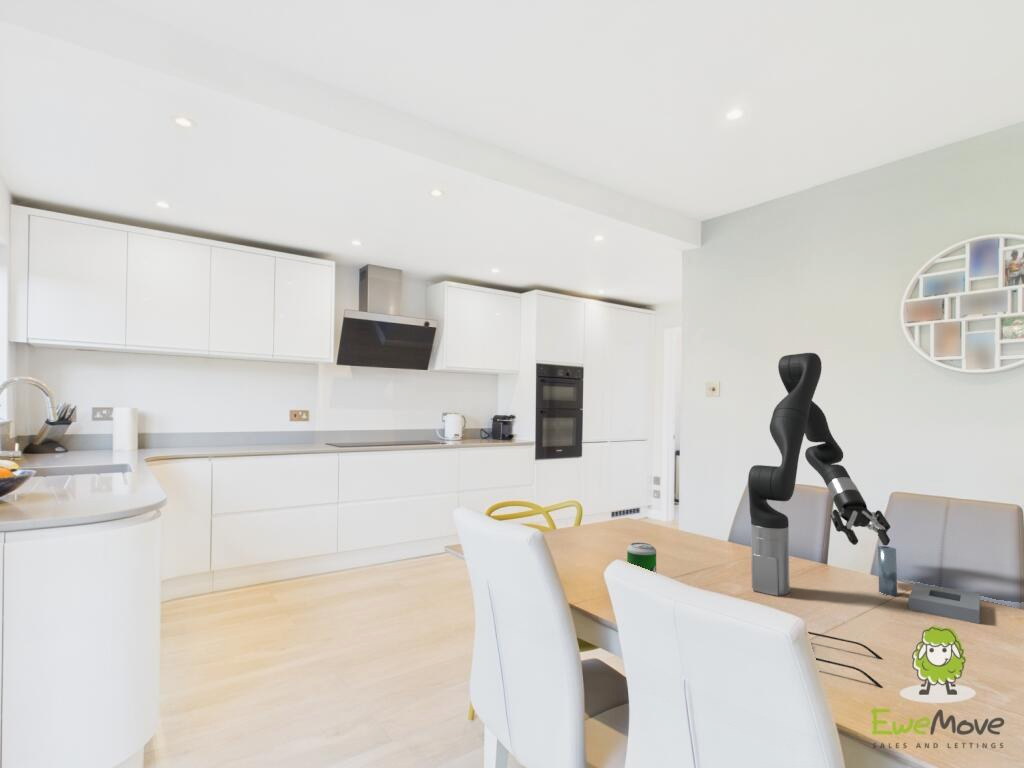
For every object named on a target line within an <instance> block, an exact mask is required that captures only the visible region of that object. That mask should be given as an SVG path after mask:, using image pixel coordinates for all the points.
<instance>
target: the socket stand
mask: <svg viewBox="0 0 1024 768" xmlns="http://www.w3.org/2000/svg"><path fill="white" fill-rule="evenodd" d="M908 610H909V611H914V612H918V613H919V612H920V613H923V614H928V615H933V616H939V617H943V618H948V619H954V620H960V621H964V622H969V623H972V624H978V625H979V624H980V622H981V621H980V620H981V594H980V593H978V592H974V591H973V592H972V591H967V590H966V591H965V590H961V589H960V590H959V589H957V588H956V589H954V588H950V587H949V588H948V587H944V586H936V585H931V584H927V583H920V582H915V583H914V584H913V587H912V589H911V591H910V593H909V595H908Z"/></svg>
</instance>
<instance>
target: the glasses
mask: <svg viewBox="0 0 1024 768" xmlns="http://www.w3.org/2000/svg"><path fill="white" fill-rule="evenodd" d="M808 633H809V634H808V635H813V636H817V637H822V638H827V639H832V640H835V641H842V642H846V643H850V644H855V645H858V646H861V647H862V648H864V649H866V650H867V651H868V652H870V653H871V654H872V655H873V656H875V657H876V658H877V659H879V660H881V661H882V660H883V659H884V658H883V657H881V656H880V655H879V654H877V653H876V652H875V651H873V650H872V649H870V647H868V646H866V645H865V644H863V643H861V642H857V641H853V640H849V639H844V638H841V637H835V636H830V635H826V634H821V633H817V632H812V631H808ZM815 658H816V660H815V661H819V662H822V663H827V664H831V665H837V666H840V667H845V668H849V669H853V670H855V671H858V672H860V673H861V674H863V675H864V676H865V677H866V678H867V679H869V680H870V681H871V682H872V683H873V684H874V685H875V686H877V687H878V688H880V689H884V687H883V685H881V683H879V682H877V680H876V679H874V678H873V677H872V676H870V674H868V673H867V672H865V671H864V670H862V669H861V668H859V667H856V666H853V665H848V664H844V663H840V662H836V661H835V662H834V661H832V660H831V661H830V660H827V659H822V658H818V657H815Z"/></svg>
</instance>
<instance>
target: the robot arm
mask: <svg viewBox="0 0 1024 768" xmlns="http://www.w3.org/2000/svg"><path fill="white" fill-rule="evenodd" d="M777 365H778V366H777V367H778V369H777V370H778V373H779V377H780V380H781V382H782V384H783V386H784V388H785V390H786V392H787V395H786V396H784V398H782V399H781V401H779V402H778V403H777V405H776V406H775V407H774V409H773V412H772V416H771V420H770V423H769V433H770V434H771V435H770V436H771V437H772V439H773V441H774V443H775V444H776V446H777V448H778V450H779V452H780V454H781V464H780V465H779V466H774V465H762V464H756V465H753V466H751V467H750V470H749V472H748V476H747V484H748V485H747V486H748V487H747V488H748V502H749V503H748V504H749V514H750V529H751V530H750V532H751V533H750V534H751V535H750V536H751V537H750V540H751V541H750V543H751V544H750V547H751V548H750V550H751V551H750V552H751V558H750V559H751V588H752V591H753V592H754V591H755V592H758V593H762V594H766V595H767V594H768V595H772V596H777V597H778V596H782V595H783V596H785V595H788V594H790V590H791V589H790V588H791V587H790V548H789V547H790V545H789V544H790V542H789V541H790V538H789V534H790V533H789V531H790V530H789V529H790V528H789V527H790V526H789V522H790V521H789V517H788V516H787V515H786V514H784V513H782V512H780V511H779V510H777V509H775V508H773V507H772V506H771V505H770V504H769V503H768V501H774V502H776V501H777V502H789V501H790V500H791V499H792V497H793V495H794V492H795V488H796V482H797V480H796V479H797V473H798V466H799V457H800V454H801V453H800V452H801V448H802V445H803V440H804V437H805V438H806V439H807V441H809V442H811V443H820V444H816V445H813V446H808V447H807V448H806V450H805V453H804V455H805V457H804V458H805V459H806V461H807V463H808V464H809V465H810V466H811V467H812V468H813V469H814V470H815V471H816V472H817V473H818V474H819V476H820V477H821V478H822V479H823V482H824V484H825V485H826V487H827V489H828V493H829V495H830V497H831V500H832V501H833V502H834V503H833V504H834V505H835V507H836V509H833V510H832V512H831V513H830V515H829V516H830V518H831V521H832V523H833V525H834V528H835V531H836V532H839V533H840V532H842V533H844V534H845V535H846V537H847V539H848V541H849V542H850V543H851V545H855V546H856V545H857V544H858V543H859V539H858V537H857V535H856V533H855V531H854V529H852V528H853V527H854V528H857V527H861V528H867V529H869V530H870V531H871V530H872V531H873V532H875V533H877V537H878V538H879V540H880V542H881V543H882V546H888V545H889V544H890V542H891V539H890V537H889V536H888V533H887V532H888V531H889V530H890V529H891V525H890V524H889V522H888V520H887V518H886V517H885V516H884V514H883V513H882V511H881V510H879V509H878V510H876V511H874V512H871V511H870V510H869V509H868V506H867V503H866V501H865V499H864V497H863V496H862V494H861V492H860V491H859V489H858V487H857V486H856V484H855V482H853V479H851V478H852V477H850V475H849V473H848V471H847V469H846V467H844V465H841V464H838V463H840V462H842V460H843V459H844V451H843V450H842V448H841V446H840V445H839V444H838V443H837V441H836V440H835V438H834V437H833V435H832V433H831V431H830V428H829V423H828V421H827V418H826V415H825V413H824V412H823V410H822V408H821V407H820V406H818V404H816V402H814V401H813V398H814V395H815V393H816V390H817V387H818V384H819V381H820V379H821V378H820V377H821V374H822V368H823V367H822V360H821V358H820V356H819V355H818V354H817V353H815V352H803V353H794V354H787V355H784V356H781V358H779V361H778V364H777ZM842 519H843V520H845V522H846V523H845V525H844V523H843V520H842ZM870 522H871V524H870Z"/></svg>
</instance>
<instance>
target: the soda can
mask: <svg viewBox="0 0 1024 768" xmlns="http://www.w3.org/2000/svg"><path fill="white" fill-rule="evenodd" d="M629 544H630V545H629V546H627V548H626V549H627V550H626V554H627V555H626V556H627V557H626V559H627V560H626V561H627V562H629V563H631V564H634V565H637V566H640V567H642V568H645V569H648V570H650V571H653V572H656V573H657V549H656V548H655V547H654V545H653V544H652V543H648V542H641V541H640V542H637V541H636V542H631V543H629Z"/></svg>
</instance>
